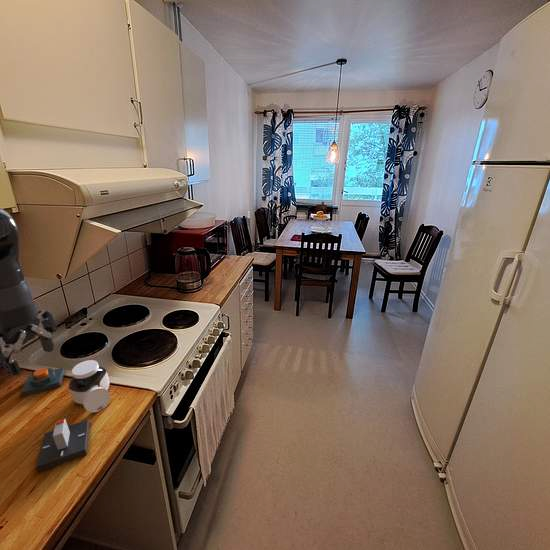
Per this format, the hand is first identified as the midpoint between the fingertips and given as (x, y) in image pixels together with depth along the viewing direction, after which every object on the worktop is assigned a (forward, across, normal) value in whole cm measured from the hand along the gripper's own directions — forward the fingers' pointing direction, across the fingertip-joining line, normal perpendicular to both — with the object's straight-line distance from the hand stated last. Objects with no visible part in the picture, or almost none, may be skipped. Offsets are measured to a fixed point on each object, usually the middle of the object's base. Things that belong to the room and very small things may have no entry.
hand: (33, 362), depth 68 cm
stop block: (+26, -16, -22) cm, 37 cm away
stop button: (+22, -16, -21) cm, 35 cm away
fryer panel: (+26, +2, +4) cm, 26 cm away
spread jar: (+26, -13, 0) cm, 29 cm away
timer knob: (+23, +2, +4) cm, 23 cm away
